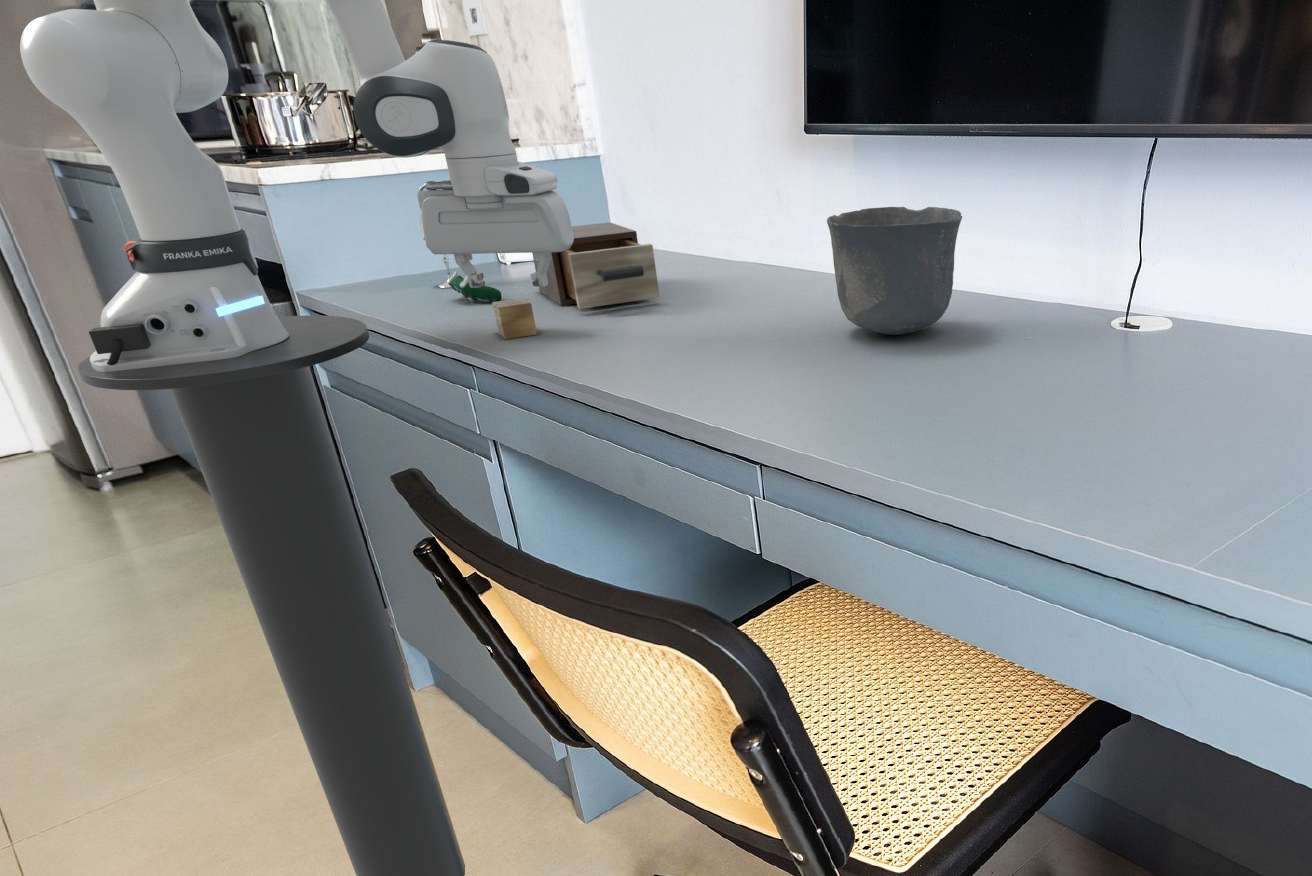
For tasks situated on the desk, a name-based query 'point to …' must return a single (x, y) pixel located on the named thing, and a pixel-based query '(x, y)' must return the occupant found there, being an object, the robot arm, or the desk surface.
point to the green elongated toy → (473, 290)
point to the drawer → (608, 272)
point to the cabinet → (580, 236)
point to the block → (514, 318)
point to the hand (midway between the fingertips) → (509, 286)
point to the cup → (894, 266)
